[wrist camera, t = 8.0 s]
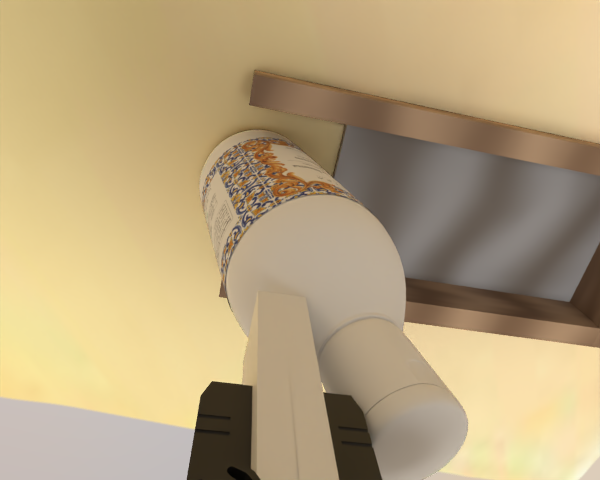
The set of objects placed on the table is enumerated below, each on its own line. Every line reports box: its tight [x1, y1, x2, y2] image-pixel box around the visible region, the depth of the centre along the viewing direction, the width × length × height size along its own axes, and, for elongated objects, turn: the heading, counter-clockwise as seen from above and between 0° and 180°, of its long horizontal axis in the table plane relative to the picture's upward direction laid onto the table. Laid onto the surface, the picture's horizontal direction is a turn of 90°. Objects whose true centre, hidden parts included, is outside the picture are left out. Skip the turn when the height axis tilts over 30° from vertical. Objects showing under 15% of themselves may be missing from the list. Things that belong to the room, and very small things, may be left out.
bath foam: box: [199, 130, 468, 480], centre depth 19 cm, size 7×7×20 cm
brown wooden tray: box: [219, 70, 600, 348], centre depth 29 cm, size 28×13×4 cm, turn 78°
